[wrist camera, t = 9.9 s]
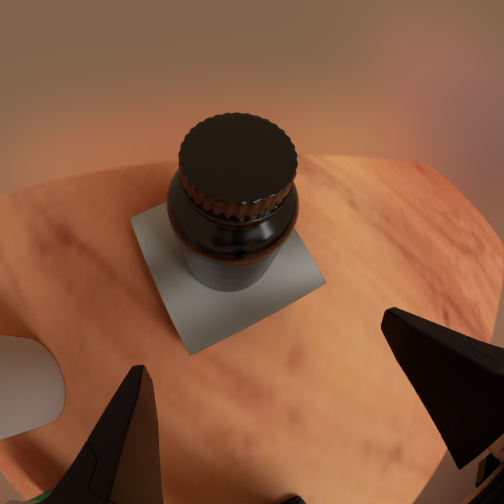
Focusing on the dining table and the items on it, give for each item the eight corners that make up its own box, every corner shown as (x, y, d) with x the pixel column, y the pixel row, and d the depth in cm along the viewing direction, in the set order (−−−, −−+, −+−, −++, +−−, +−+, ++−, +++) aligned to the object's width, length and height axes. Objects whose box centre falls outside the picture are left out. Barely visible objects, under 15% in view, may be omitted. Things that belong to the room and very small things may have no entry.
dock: (316, 289, 24) (326, 282, 22) (192, 354, 21) (189, 355, 19) (252, 181, 27) (255, 166, 25) (136, 230, 24) (129, 218, 21)
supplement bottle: (205, 199, 23) (205, 82, 12) (281, 231, 23) (339, 130, 11) (167, 272, 20) (120, 187, 9) (250, 309, 20) (297, 261, 9)
